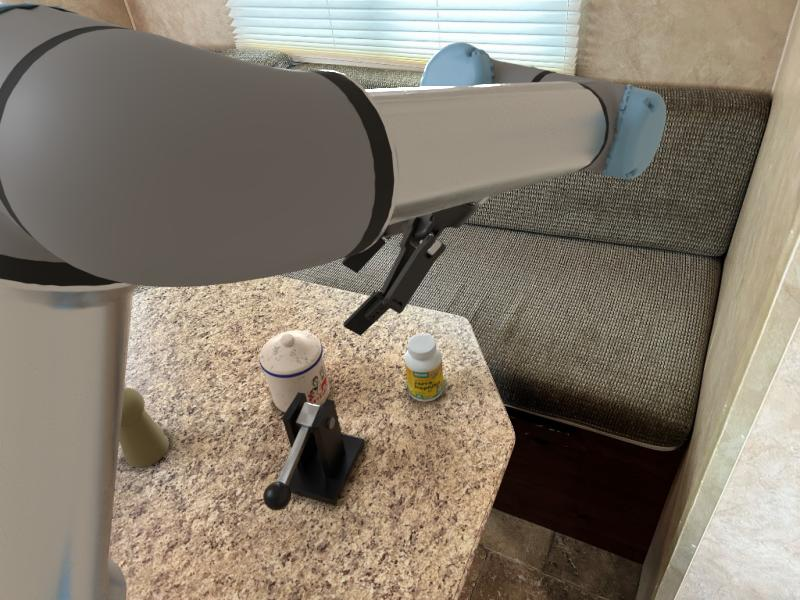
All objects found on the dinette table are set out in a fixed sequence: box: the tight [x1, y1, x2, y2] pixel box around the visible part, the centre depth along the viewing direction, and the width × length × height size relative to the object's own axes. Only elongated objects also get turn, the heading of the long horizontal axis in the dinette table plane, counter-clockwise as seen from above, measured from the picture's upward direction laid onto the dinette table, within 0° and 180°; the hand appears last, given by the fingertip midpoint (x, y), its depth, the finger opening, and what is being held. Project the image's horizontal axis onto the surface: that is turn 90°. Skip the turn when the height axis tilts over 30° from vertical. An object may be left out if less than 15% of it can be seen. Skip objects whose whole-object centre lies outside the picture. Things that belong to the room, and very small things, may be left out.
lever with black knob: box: [262, 403, 322, 512], centre depth 73 cm, size 13×3×3 cm, turn 160°
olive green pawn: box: [119, 387, 170, 468], centre depth 83 cm, size 6×6×11 cm
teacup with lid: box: [258, 329, 331, 413], centre depth 89 cm, size 12×9×12 cm
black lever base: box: [281, 392, 366, 506], centre depth 78 cm, size 10×8×12 cm
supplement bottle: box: [404, 333, 445, 403], centre depth 88 cm, size 5×5×10 cm
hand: (350, 296), depth 82 cm, fingers open, 13 cm apart
